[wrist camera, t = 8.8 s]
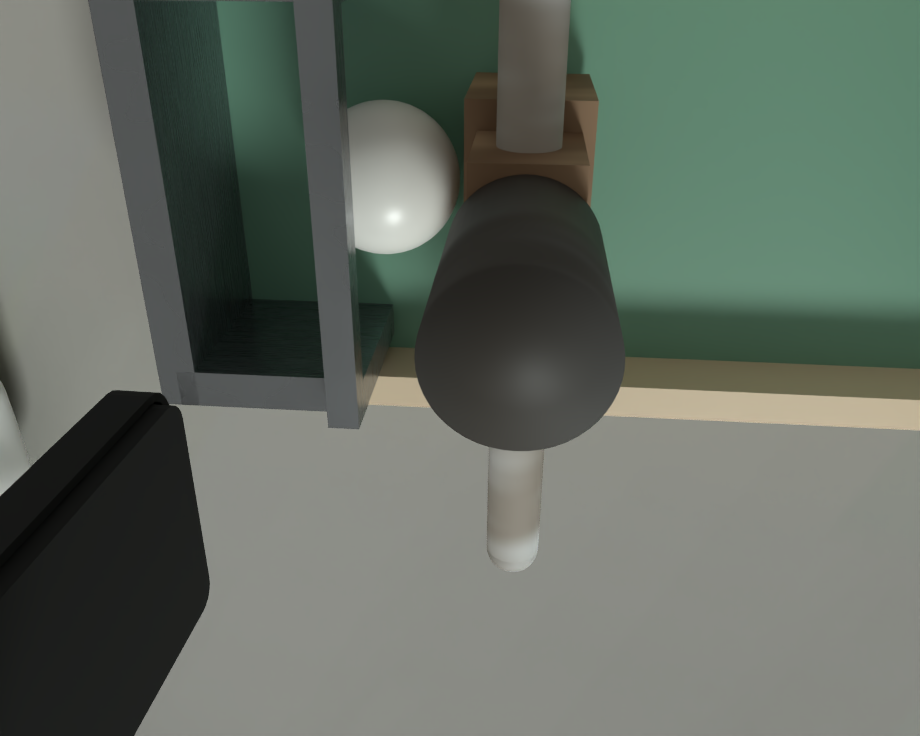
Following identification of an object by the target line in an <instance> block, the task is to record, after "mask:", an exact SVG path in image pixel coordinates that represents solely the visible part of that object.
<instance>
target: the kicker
mask: <svg viewBox="0 0 920 736" xmlns="http://www.w3.org/2000/svg"><path fill="white" fill-rule="evenodd" d="M570 8H571V0H499V42H498V73H491V72H476V74H475V76H474V79H473V81H472V83H471V85H470V87H469V89H468V91H467V94H466V96H465V98H464V203H463V204H462V206H461V207H460V209H459V210H458V212H457V213H456V215H455V217H454V219H453V221H452V224H451V227H450V230H449V233H448V236H447V240H446V243H445V246H444V249H443V252H442V256H441V259H440V262H439V265H438V269H437V272H436V275H435V278H434V282H433V285H432V288H431V291H430V295H429V298H428V301H427V304H426V308H425V311H424V314H423V317H422V321H421V324H420V327H419V330H418V334H417V338H416V343H415V354H414V361H415V371H416V375H417V379H418V383H419V385H420V388H421V390H422V393H423V395H424V397H425V398H426V400H427V402H428V404H429V405H430V406H431V408H432V409H433V410H434V412H435V413H436V414H437V415H438V416H439V417H440V418H441V419H442V420H443V421H444V422H445V423H446V424H447V425H448V426H449V427H451V428H452V429H453V430H454V431H456V432H458V433H459V434H461V435H462V436H464V437H466V438H468V439H470V440H472V441H474V442H476V443H479V444H482V445H485V446H488V447H489V469H488V512H487V552H488V554H489V557H490V559H491V560H492V562H493V563H494V564H495V565H496V566H497V567H499V568H500V569H502V570H504V571H508V572H518V571H521V570H523V569H525V568H527V567H528V566H530V564H531V563H532V562H533V561H534V559H535V557H536V555H537V551H538V541H539V524H540V508H541V491H542V474H543V458H544V449H546V448H550V447H554V446H557V445H560V444H563V443H566V442H568V441H570V440H572V439H574V438H576V437H578V436H579V435H581V434H582V433H584V432H585V431H587V430H588V429H590V428H591V427H592V426H593V425H594V424H596V423H597V422H598V421H599V420H600V419H601V418H602V416H603V415H604V414H605V413H606V412H607V410H608V409H609V408H610V406H611V405H612V403H613V402H614V400H615V398H616V396H617V394H618V392H619V389H620V386H621V383H622V380H623V375H624V370H625V348H624V341H623V336H622V331H621V326H620V321H619V316H618V311H617V306H616V301H615V296H614V292H613V287H612V282H611V277H610V272H609V267H608V262H607V257H606V252H605V247H604V242H603V237H602V233H601V229H600V225H599V223H598V221H597V218H596V216H595V214H594V213H593V211H592V209H591V196H592V183H593V170H594V157H595V145H596V132H597V119H598V106H599V100H598V97H597V94H596V91H595V88H594V85H593V83H592V80H591V77H590V74H567V58H568V41H569V25H570Z"/></svg>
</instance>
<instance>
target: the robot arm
mask: <svg viewBox="0 0 920 736" xmlns="http://www.w3.org/2000/svg"><path fill="white" fill-rule="evenodd" d="M209 586H210V581H209V573H208V567H207V561H206V555H205V549H204V543H203V537H202V531H201V525H200V519H199V513H198V507H197V501H196V495H195V489H194V483H193V477H192V471H191V465H190V459H189V453H188V447H187V441H186V435H185V429H184V423H183V418H182V414H181V411H180V410H179V408H178V407H176V406H171V405H169V403H168V401H167V399H166V398H165V396H164V395H162V394H161V393H152V392H136V391H120V390H115V391H111V392H110V393H108V394H107V395H106V396H105V397H104V398H103V399H101V400H100V401H99V402H98V403H97V404H96V405H95V406H94V407H93V408H92V409H91V410H90V411H89V412H88V413H87V414H86V415H85V416H84V417H83V418H82V419H80V420H79V421H78V422H77V423H76V424H75V425H74V426H73V427H72V428H71V429H70V430H69V431H68V432H67V433H66V434H65V435H64V436H63V437H62V438H61V439H60V440H58V441H57V442H56V443H55V444H54V445H53V446H52V447H51V448H50V449H49V450H48V451H47V452H46V453H45V454H44V455H43V456H42V457H41V458H40V459H39V460H37V461H36V462H35V463H34V464H33V465H32V466H31V467H30V468H29V469H28V470H27V471H26V472H25V473H24V474H23V475H22V476H21V477H20V478H19V479H18V480H17V481H15V482H14V483H13V484H12V485H11V486H10V487H9V488H8V489H7V490H6V491H5V492H4V493H3V494H2V495H1V496H0V736H134V735H135V733H136V731H137V729H138V727H139V726H140V724H141V722H142V720H143V718H144V717H145V715H146V713H147V711H148V709H149V708H150V706H151V704H152V702H153V701H154V699H155V697H156V695H157V693H158V692H159V690H160V688H161V686H162V684H163V683H164V681H165V679H166V677H167V675H168V674H169V672H170V670H171V668H172V666H173V665H174V663H175V661H176V659H177V657H178V656H179V654H180V652H181V650H182V648H183V647H184V645H185V643H186V641H187V639H188V638H189V636H190V634H191V632H192V630H193V629H194V627H195V625H196V623H197V621H198V620H199V618H200V616H201V614H202V612H203V611H204V608H205V606H206V603H207V600H208V595H209Z"/></svg>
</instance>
